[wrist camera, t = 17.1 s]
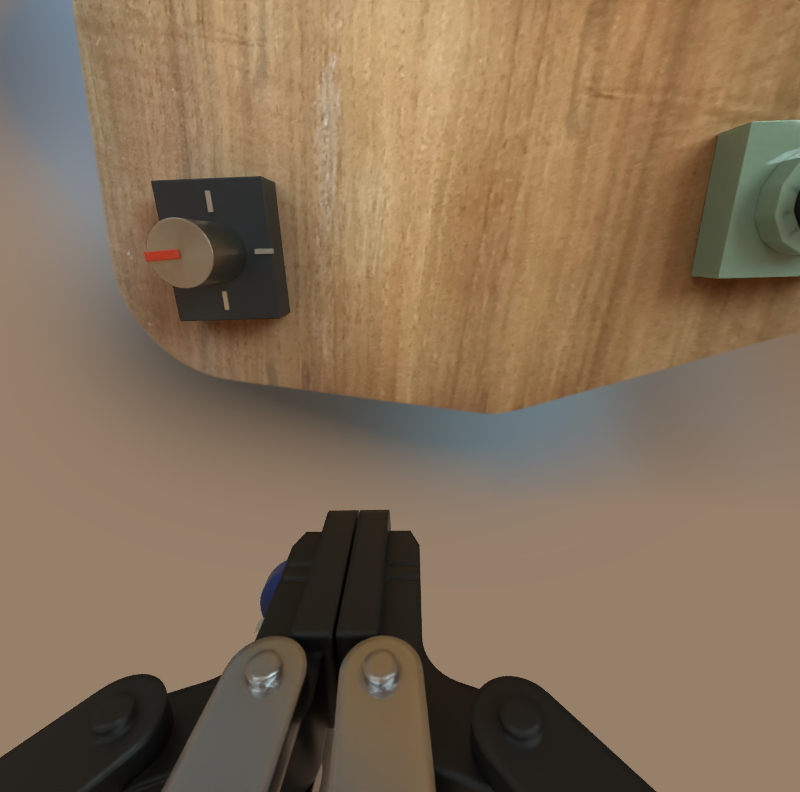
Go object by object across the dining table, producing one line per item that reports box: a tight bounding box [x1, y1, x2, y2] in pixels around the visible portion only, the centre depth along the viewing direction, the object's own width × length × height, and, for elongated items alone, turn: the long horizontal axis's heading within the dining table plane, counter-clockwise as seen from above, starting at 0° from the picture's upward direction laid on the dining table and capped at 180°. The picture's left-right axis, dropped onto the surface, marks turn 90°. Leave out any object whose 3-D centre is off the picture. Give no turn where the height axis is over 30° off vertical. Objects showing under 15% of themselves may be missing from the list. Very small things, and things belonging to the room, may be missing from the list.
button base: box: [691, 120, 800, 279], centre depth 30 cm, size 10×10×5 cm
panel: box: [151, 176, 290, 321], centre depth 33 cm, size 10×8×3 cm
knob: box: [144, 217, 246, 288], centre depth 28 cm, size 4×4×6 cm
